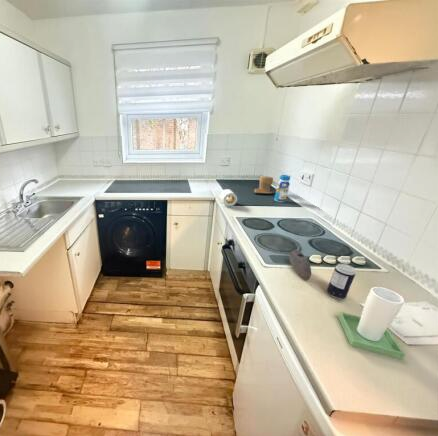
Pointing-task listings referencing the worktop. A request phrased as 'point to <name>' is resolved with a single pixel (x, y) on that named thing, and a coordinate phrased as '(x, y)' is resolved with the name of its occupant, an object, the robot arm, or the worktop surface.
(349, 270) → the beverage can
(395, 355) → the green tray
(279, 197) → the beverage bottle
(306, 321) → the worktop surface
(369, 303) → the white cup
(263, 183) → the brown cylinder on base
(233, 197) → the toilet paper
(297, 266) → the perforated stone tool
